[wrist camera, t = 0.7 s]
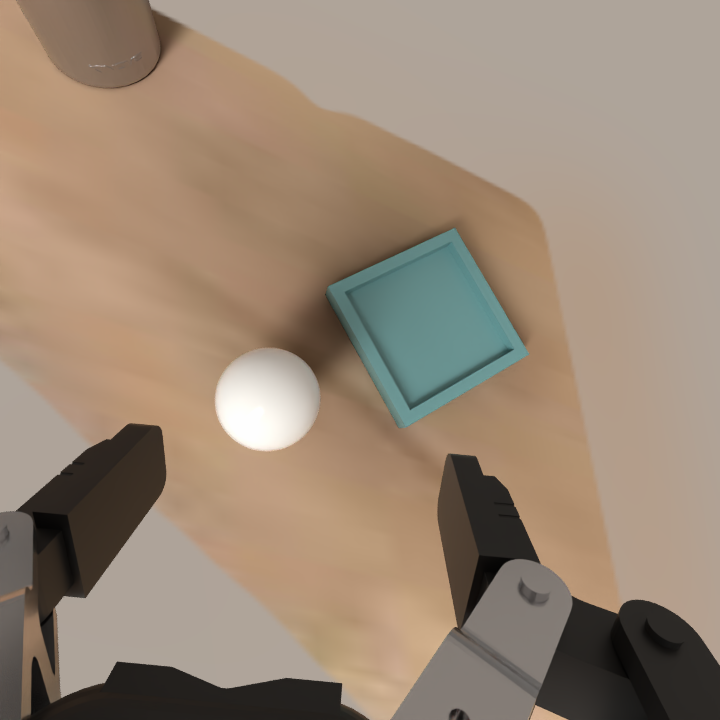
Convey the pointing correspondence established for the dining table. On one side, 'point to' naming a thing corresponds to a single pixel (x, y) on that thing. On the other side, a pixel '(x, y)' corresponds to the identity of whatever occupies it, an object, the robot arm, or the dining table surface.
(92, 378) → the dining table surface
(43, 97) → the dining table surface
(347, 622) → the dining table surface
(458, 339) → the tray
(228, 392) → the lightbulb
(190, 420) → the dining table surface
